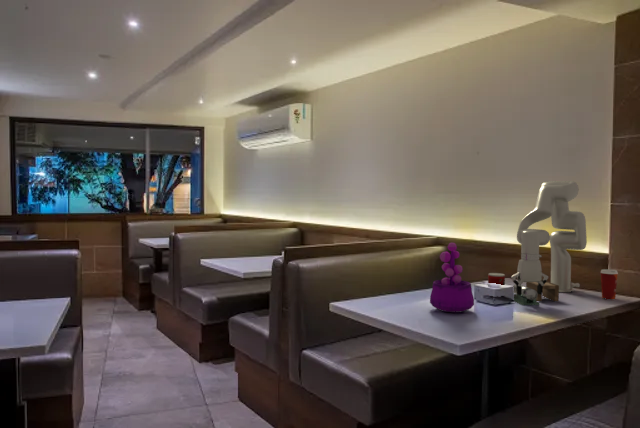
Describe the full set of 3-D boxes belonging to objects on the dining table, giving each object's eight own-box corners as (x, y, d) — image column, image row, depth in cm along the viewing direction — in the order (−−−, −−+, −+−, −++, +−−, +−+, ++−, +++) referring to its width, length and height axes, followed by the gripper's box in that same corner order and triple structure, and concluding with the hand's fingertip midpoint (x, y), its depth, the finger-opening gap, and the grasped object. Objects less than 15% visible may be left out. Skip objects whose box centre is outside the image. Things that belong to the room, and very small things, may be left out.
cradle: (526, 299, 242) (527, 293, 242) (539, 305, 230) (539, 298, 230) (510, 299, 241) (510, 293, 241) (522, 305, 229) (522, 298, 229)
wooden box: (545, 296, 249) (545, 281, 249) (558, 301, 237) (558, 285, 237) (526, 296, 249) (526, 281, 248) (537, 301, 237) (538, 285, 237)
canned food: (501, 298, 245) (502, 275, 245) (485, 296, 250) (485, 274, 250) (506, 295, 252) (506, 273, 251) (490, 293, 256) (491, 272, 256)
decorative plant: (443, 317, 207) (443, 245, 206) (422, 307, 224) (422, 241, 223) (482, 314, 212) (483, 243, 211) (459, 305, 229) (460, 240, 228)
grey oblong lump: (512, 294, 243) (511, 284, 243) (522, 293, 243) (521, 283, 243) (527, 301, 228) (526, 290, 228) (538, 299, 228) (537, 288, 228)
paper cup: (621, 300, 240) (621, 271, 240) (605, 300, 240) (605, 271, 240) (611, 297, 248) (612, 269, 247) (596, 297, 248) (596, 269, 248)
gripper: (544, 256, 234) (543, 292, 235) (508, 256, 233) (507, 292, 234) (552, 258, 227) (551, 295, 227) (515, 258, 226) (514, 296, 226)
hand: (529, 294), depth 231 cm, fingers open, 9 cm apart
